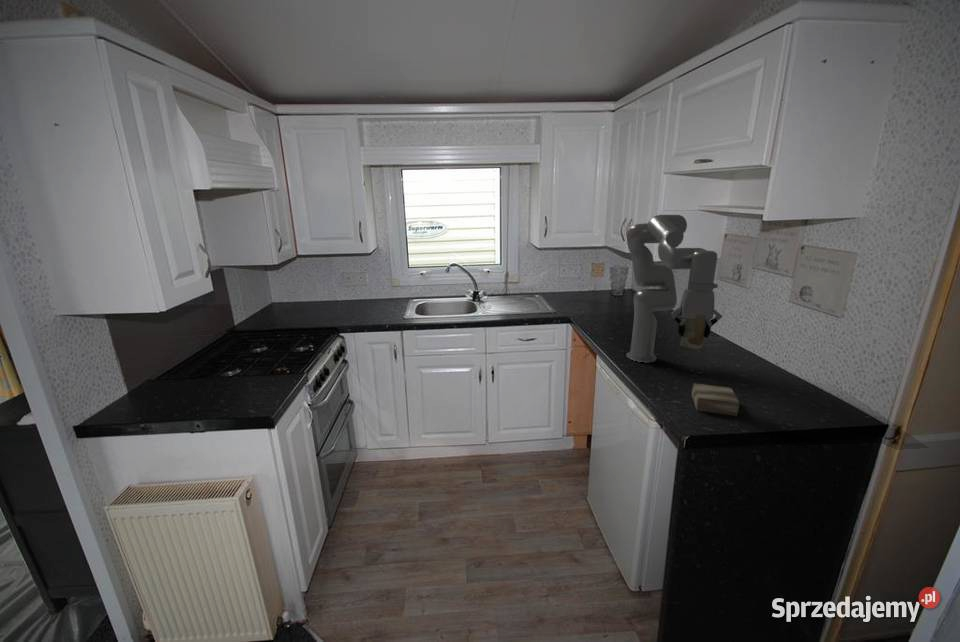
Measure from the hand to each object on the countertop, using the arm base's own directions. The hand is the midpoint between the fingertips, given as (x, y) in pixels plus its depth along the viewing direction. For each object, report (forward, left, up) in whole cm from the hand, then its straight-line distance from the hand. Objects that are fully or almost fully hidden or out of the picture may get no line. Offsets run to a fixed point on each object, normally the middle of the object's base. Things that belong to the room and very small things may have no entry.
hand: (693, 335), depth 143 cm
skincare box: (0, 0, -4) cm, 4 cm away
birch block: (+8, +7, -23) cm, 25 cm away
